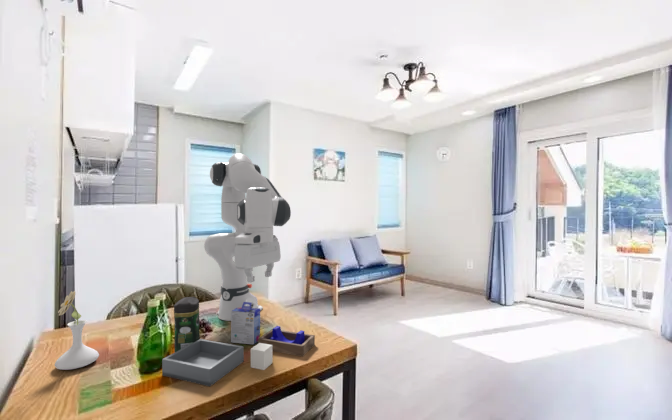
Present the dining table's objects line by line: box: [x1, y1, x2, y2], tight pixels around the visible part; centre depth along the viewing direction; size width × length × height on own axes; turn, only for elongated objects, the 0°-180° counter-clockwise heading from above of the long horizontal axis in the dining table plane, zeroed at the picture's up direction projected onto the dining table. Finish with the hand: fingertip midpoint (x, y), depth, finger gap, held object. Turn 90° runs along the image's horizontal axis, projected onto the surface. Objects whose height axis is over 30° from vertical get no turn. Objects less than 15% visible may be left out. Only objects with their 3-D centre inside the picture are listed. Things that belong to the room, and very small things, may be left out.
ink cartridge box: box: [230, 302, 261, 345], centre depth 125 cm, size 10×6×14 cm, turn 78°
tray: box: [161, 338, 245, 387], centre depth 104 cm, size 16×18×5 cm
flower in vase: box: [54, 290, 100, 371], centre depth 106 cm, size 13×11×25 cm
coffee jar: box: [173, 296, 201, 353], centre depth 117 cm, size 10×8×19 cm
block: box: [250, 342, 273, 371], centre depth 106 cm, size 5×5×6 cm
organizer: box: [257, 328, 316, 357], centre depth 120 cm, size 10×18×4 cm, turn 70°
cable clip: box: [270, 325, 305, 345], centre depth 121 cm, size 12×4×6 cm, turn 66°
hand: (259, 279), depth 106 cm, fingers open, 8 cm apart
